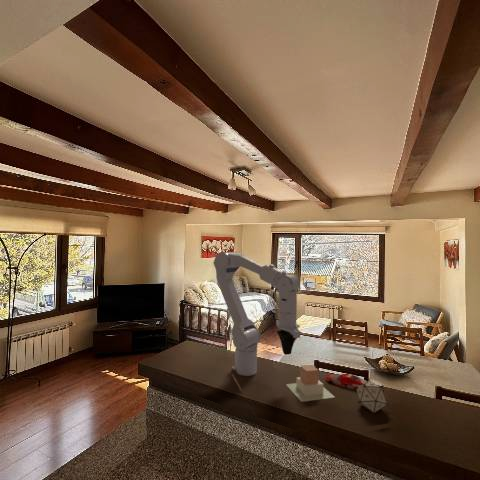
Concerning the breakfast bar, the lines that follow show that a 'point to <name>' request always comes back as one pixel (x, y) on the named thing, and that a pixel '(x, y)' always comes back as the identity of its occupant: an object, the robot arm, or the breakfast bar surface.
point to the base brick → (309, 387)
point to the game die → (371, 396)
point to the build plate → (303, 398)
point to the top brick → (309, 374)
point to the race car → (345, 380)
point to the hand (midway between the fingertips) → (287, 353)
